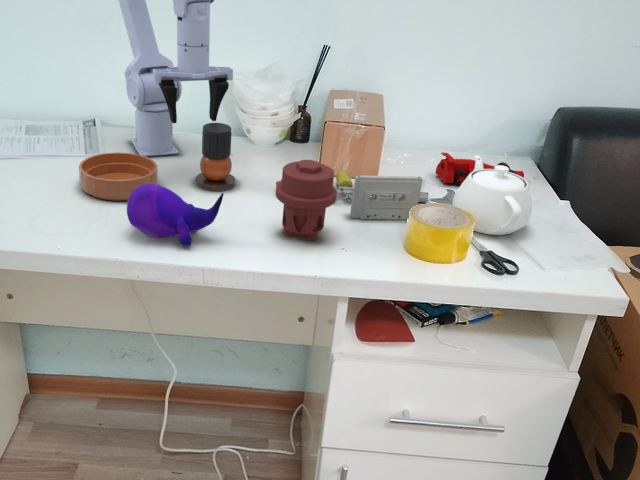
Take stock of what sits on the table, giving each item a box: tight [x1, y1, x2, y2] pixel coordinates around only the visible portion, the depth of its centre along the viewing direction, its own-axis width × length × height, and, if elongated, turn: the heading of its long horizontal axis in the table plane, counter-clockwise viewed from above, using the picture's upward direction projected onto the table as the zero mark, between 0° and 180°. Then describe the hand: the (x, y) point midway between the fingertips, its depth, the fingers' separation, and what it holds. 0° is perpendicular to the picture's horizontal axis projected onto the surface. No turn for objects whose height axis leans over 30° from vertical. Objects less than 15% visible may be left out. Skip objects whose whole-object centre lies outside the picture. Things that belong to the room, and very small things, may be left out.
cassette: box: [349, 175, 424, 220], centre depth 127 cm, size 12×2×8 cm, turn 96°
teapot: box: [451, 155, 533, 236], centre depth 127 cm, size 22×14×11 cm, turn 5°
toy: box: [126, 184, 225, 247], centre depth 116 cm, size 9×10×15 cm
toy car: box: [434, 152, 525, 187], centre depth 146 cm, size 6×18×5 cm, turn 99°
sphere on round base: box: [194, 154, 236, 192], centre depth 136 cm, size 8×8×7 cm
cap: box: [201, 122, 233, 159], centre depth 133 cm, size 5×5×5 cm
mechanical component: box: [275, 159, 338, 242], centre depth 118 cm, size 12×10×10 cm
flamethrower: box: [275, 169, 429, 203], centre depth 137 cm, size 29×3×10 cm
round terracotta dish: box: [78, 151, 159, 202], centre depth 132 cm, size 14×14×4 cm
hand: (193, 120), depth 135 cm, fingers open, 7 cm apart
